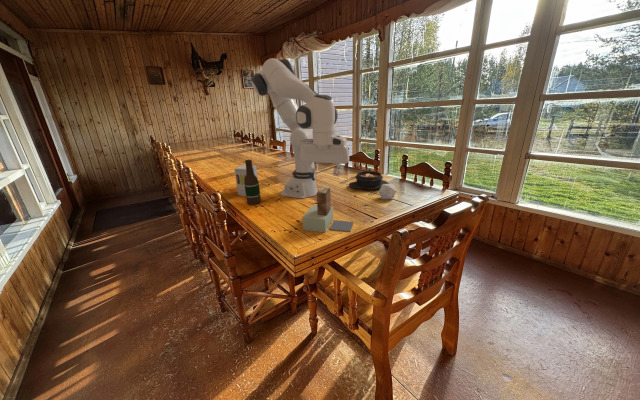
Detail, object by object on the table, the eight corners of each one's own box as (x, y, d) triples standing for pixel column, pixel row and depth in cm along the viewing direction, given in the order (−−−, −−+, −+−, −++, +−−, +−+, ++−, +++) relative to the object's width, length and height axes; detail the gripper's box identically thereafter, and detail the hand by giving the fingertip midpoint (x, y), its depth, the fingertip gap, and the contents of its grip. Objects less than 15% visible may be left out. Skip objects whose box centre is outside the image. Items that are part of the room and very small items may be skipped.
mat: (329, 229, 110) (329, 229, 109) (334, 220, 118) (334, 220, 117) (350, 232, 107) (350, 231, 107) (353, 222, 115) (353, 221, 115)
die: (392, 203, 136) (401, 187, 136) (377, 195, 136) (386, 179, 136) (387, 203, 144) (396, 188, 144) (374, 195, 144) (382, 180, 144)
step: (303, 229, 110) (302, 217, 108) (313, 216, 123) (312, 205, 121) (325, 232, 108) (325, 219, 105) (333, 218, 120) (333, 206, 118)
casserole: (353, 193, 151) (353, 179, 148) (345, 184, 169) (345, 171, 166) (393, 189, 155) (394, 176, 152) (381, 181, 172) (382, 168, 169)
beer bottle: (248, 200, 146) (242, 159, 138) (262, 199, 147) (256, 158, 138) (245, 205, 139) (239, 162, 131) (260, 204, 140) (254, 161, 131)
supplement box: (237, 195, 155) (233, 168, 149) (247, 190, 163) (243, 164, 157) (250, 197, 152) (246, 169, 146) (259, 192, 160) (256, 165, 154)
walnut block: (317, 214, 110) (316, 192, 106) (322, 208, 116) (321, 187, 112) (326, 215, 109) (326, 193, 105) (330, 209, 115) (330, 187, 111)
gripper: (296, 139, 101) (298, 173, 106) (347, 140, 96) (347, 176, 101) (301, 137, 107) (303, 169, 112) (350, 138, 101) (349, 172, 106)
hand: (324, 173), depth 106 cm, fingers open, 8 cm apart
